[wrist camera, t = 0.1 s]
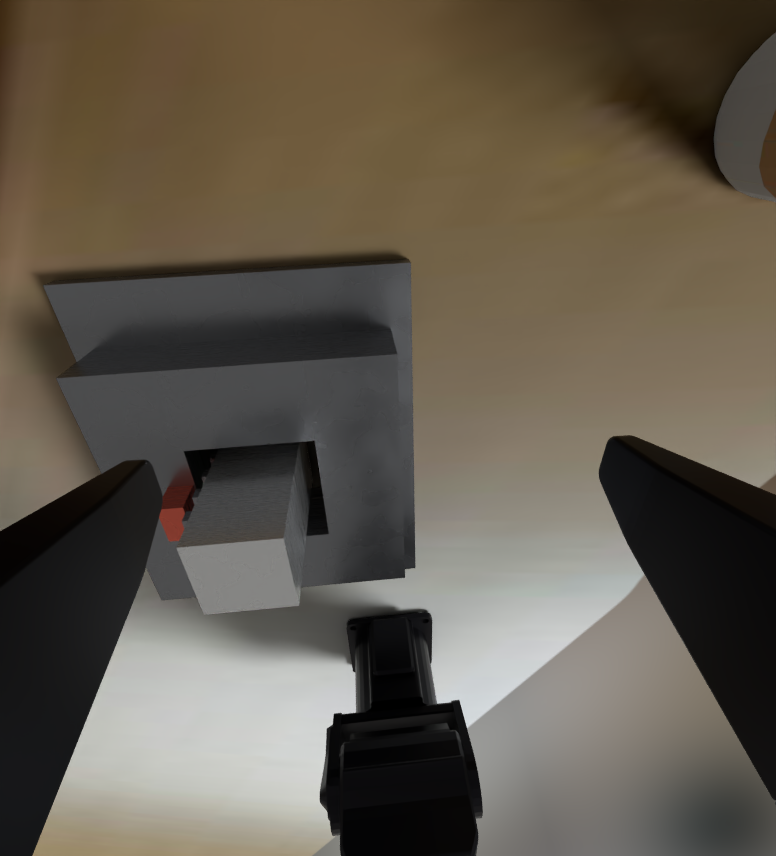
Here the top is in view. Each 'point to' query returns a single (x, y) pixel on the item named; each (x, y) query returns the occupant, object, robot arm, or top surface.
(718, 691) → the robot arm
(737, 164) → the coffee cup
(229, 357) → the stand base
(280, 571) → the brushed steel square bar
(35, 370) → the top surface
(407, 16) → the top surface
